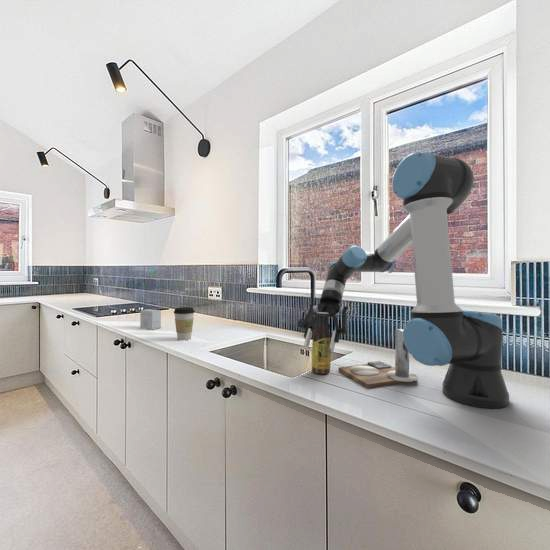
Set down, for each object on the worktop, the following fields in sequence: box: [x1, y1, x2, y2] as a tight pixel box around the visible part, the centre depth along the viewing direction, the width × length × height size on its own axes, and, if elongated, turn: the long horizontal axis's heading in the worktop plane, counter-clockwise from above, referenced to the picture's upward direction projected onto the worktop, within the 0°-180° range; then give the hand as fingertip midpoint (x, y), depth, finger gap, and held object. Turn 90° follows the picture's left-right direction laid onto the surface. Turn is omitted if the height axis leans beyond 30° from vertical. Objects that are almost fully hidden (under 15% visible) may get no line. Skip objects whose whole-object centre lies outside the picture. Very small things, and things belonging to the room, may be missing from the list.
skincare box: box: [139, 308, 162, 330], centre depth 178 cm, size 10×6×10 cm, turn 60°
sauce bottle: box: [311, 311, 332, 375], centre depth 103 cm, size 6×6×20 cm
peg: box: [394, 328, 410, 378], centre depth 95 cm, size 4×4×14 cm
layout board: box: [338, 360, 419, 389], centre depth 98 cm, size 18×18×2 cm
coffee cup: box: [173, 306, 196, 341], centre depth 150 cm, size 10×10×15 cm
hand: (318, 348), depth 100 cm, fingers open, 8 cm apart
